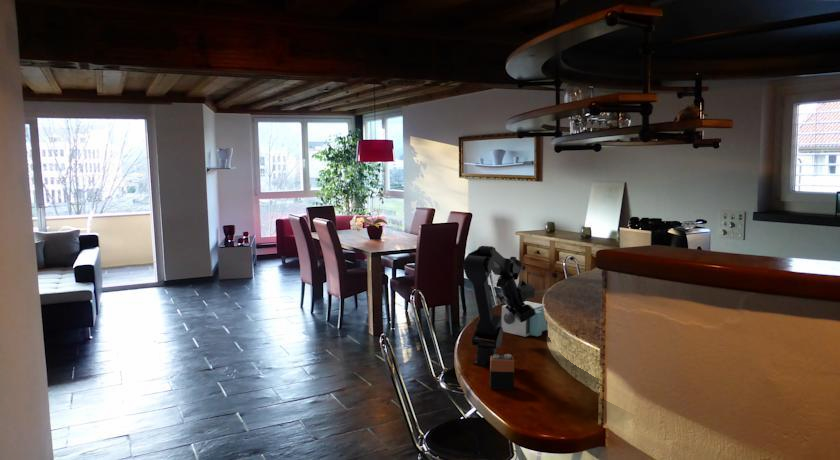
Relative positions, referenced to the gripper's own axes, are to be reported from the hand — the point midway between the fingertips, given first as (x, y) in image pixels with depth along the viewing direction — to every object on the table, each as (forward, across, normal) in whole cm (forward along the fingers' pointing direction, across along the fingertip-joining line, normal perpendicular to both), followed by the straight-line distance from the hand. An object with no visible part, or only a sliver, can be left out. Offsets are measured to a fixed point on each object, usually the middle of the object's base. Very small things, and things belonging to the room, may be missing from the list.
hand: (522, 321), depth 223 cm
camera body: (+14, +12, -3) cm, 19 cm away
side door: (+14, +6, -7) cm, 17 cm away
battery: (-14, -37, +25) cm, 47 cm away
